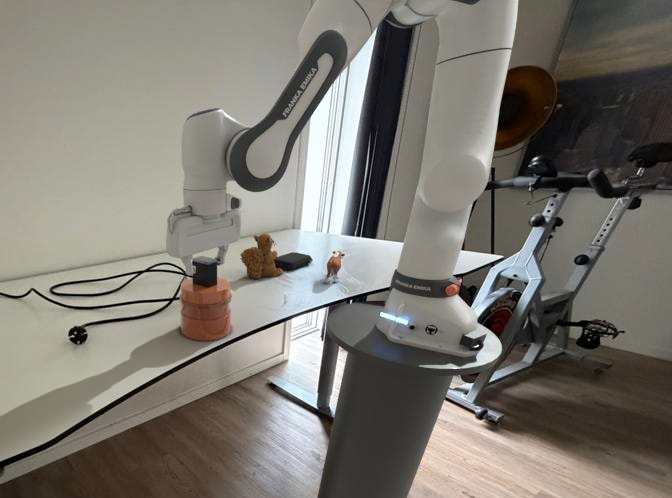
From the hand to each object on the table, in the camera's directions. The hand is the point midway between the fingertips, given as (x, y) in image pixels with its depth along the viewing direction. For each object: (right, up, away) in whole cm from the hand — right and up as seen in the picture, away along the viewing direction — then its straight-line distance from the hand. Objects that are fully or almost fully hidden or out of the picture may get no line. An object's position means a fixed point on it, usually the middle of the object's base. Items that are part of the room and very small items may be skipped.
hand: (205, 269), depth 85 cm
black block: (0, -3, +2) cm, 3 cm away
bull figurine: (+42, +6, +38) cm, 57 cm away
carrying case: (+33, +14, +52) cm, 63 cm away
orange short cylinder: (0, -13, +8) cm, 15 cm away
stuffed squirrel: (+20, +8, +43) cm, 48 cm away
